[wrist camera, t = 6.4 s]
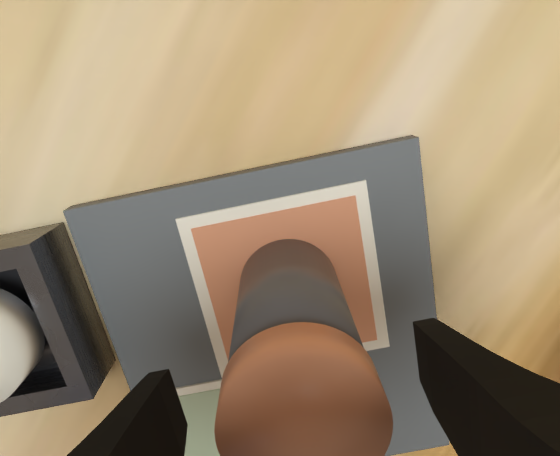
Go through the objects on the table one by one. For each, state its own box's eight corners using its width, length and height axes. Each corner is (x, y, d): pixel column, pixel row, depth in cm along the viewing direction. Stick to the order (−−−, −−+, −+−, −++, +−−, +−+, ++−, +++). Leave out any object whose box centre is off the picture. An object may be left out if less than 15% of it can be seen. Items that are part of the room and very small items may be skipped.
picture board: (442, 432, 21) (450, 447, 20) (173, 481, 22) (169, 497, 21) (411, 135, 17) (419, 137, 16) (71, 205, 17) (61, 212, 16)
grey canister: (347, 317, 18) (404, 480, 10) (251, 337, 18) (239, 513, 11) (328, 226, 17) (378, 337, 9) (226, 249, 17) (192, 377, 9)
